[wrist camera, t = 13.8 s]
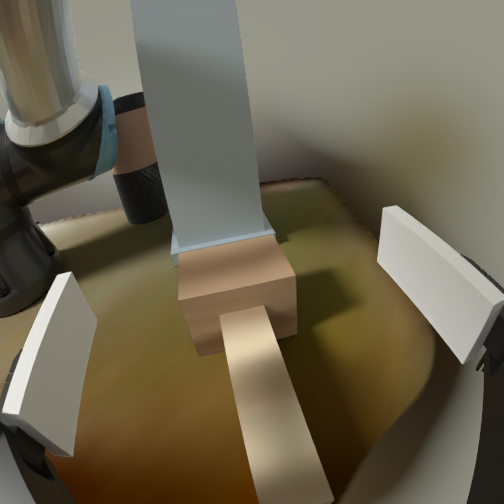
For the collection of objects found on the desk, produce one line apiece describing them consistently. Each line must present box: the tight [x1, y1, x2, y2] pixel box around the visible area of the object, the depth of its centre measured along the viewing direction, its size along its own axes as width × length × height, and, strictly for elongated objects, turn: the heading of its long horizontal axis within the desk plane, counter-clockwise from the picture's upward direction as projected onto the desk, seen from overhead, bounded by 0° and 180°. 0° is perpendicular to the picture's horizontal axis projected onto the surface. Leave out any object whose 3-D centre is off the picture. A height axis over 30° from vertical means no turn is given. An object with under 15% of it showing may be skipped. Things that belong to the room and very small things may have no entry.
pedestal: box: [130, 0, 276, 266], centre depth 31 cm, size 12×12×31 cm
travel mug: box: [111, 92, 168, 224], centre depth 43 cm, size 8×8×20 cm
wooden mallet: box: [178, 234, 334, 504], centre depth 18 cm, size 20×8×6 cm, turn 12°
